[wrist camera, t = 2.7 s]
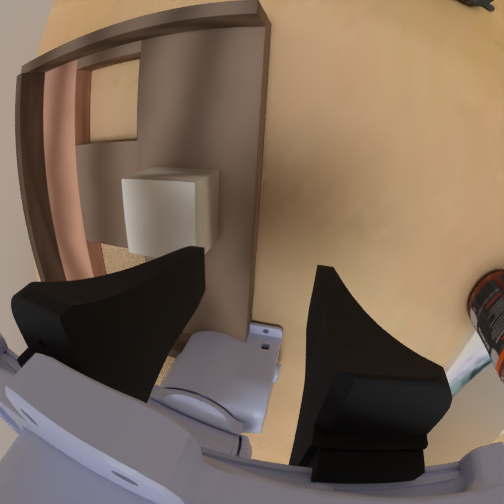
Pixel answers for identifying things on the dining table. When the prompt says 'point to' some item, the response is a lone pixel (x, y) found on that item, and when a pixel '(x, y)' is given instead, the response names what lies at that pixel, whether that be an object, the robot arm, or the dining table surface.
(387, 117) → the dining table surface
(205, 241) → the block
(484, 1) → the mobile phone
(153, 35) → the frame
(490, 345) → the supplement bottle
